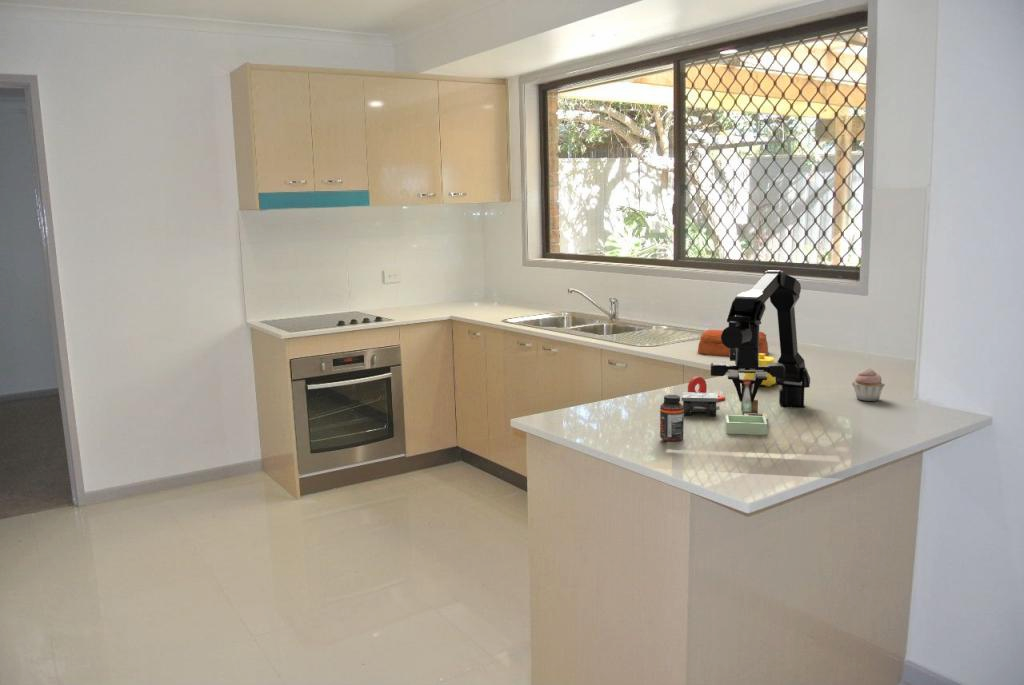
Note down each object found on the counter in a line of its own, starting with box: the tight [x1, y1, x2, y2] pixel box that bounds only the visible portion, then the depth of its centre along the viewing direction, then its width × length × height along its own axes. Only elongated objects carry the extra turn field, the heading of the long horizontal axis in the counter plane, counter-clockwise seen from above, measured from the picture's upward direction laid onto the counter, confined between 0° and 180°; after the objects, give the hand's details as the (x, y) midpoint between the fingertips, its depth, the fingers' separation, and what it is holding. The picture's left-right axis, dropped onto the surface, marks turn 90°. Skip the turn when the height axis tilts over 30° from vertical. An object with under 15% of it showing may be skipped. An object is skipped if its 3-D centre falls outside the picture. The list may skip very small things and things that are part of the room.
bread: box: [696, 329, 769, 357], centre depth 323 cm, size 16×27×11 cm, turn 63°
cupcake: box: [851, 366, 886, 402], centre depth 246 cm, size 9×9×10 cm
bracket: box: [687, 376, 726, 402], centre depth 248 cm, size 12×4×8 cm, turn 121°
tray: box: [725, 414, 768, 436], centre depth 215 cm, size 10×8×3 cm
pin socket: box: [744, 413, 769, 427], centre depth 222 cm, size 6×6×2 cm
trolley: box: [681, 391, 720, 417], centre depth 233 cm, size 11×8×5 cm
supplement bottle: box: [659, 394, 685, 442], centre depth 208 cm, size 6×6×11 cm
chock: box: [741, 394, 759, 415], centre depth 232 cm, size 4×6×5 cm, turn 167°
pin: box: [740, 378, 754, 412], centre depth 214 cm, size 4×4×8 cm
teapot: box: [743, 353, 777, 388], centre depth 269 cm, size 18×11×11 cm, turn 158°
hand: (746, 401), depth 214 cm, fingers closed on pin, 3 cm apart
